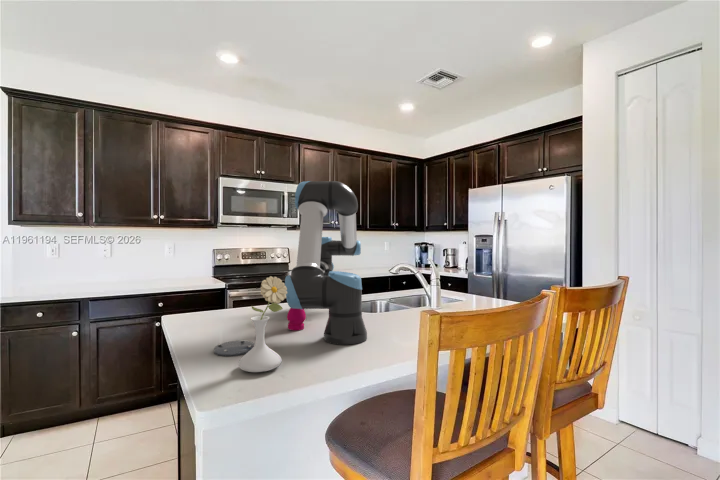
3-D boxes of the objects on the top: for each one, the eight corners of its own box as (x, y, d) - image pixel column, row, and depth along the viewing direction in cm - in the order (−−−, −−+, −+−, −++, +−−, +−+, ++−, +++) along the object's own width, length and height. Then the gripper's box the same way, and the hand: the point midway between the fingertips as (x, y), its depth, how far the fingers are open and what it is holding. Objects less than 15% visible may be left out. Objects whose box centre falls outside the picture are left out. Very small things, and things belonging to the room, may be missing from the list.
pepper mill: (290, 324, 142) (292, 275, 142) (307, 326, 141) (310, 276, 140) (283, 329, 135) (286, 277, 134) (301, 331, 134) (304, 279, 133)
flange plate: (260, 345, 117) (260, 340, 117) (242, 357, 106) (242, 352, 106) (227, 343, 119) (227, 338, 119) (205, 355, 108) (205, 349, 108)
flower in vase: (240, 379, 89) (239, 280, 89) (236, 364, 100) (235, 275, 99) (291, 371, 94) (291, 277, 94) (283, 358, 105) (282, 273, 105)
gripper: (344, 278, 167) (333, 285, 146) (294, 277, 171) (276, 283, 151) (344, 262, 167) (333, 266, 146) (293, 261, 171) (275, 266, 150)
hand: (304, 275), depth 148 cm, fingers open, 13 cm apart
